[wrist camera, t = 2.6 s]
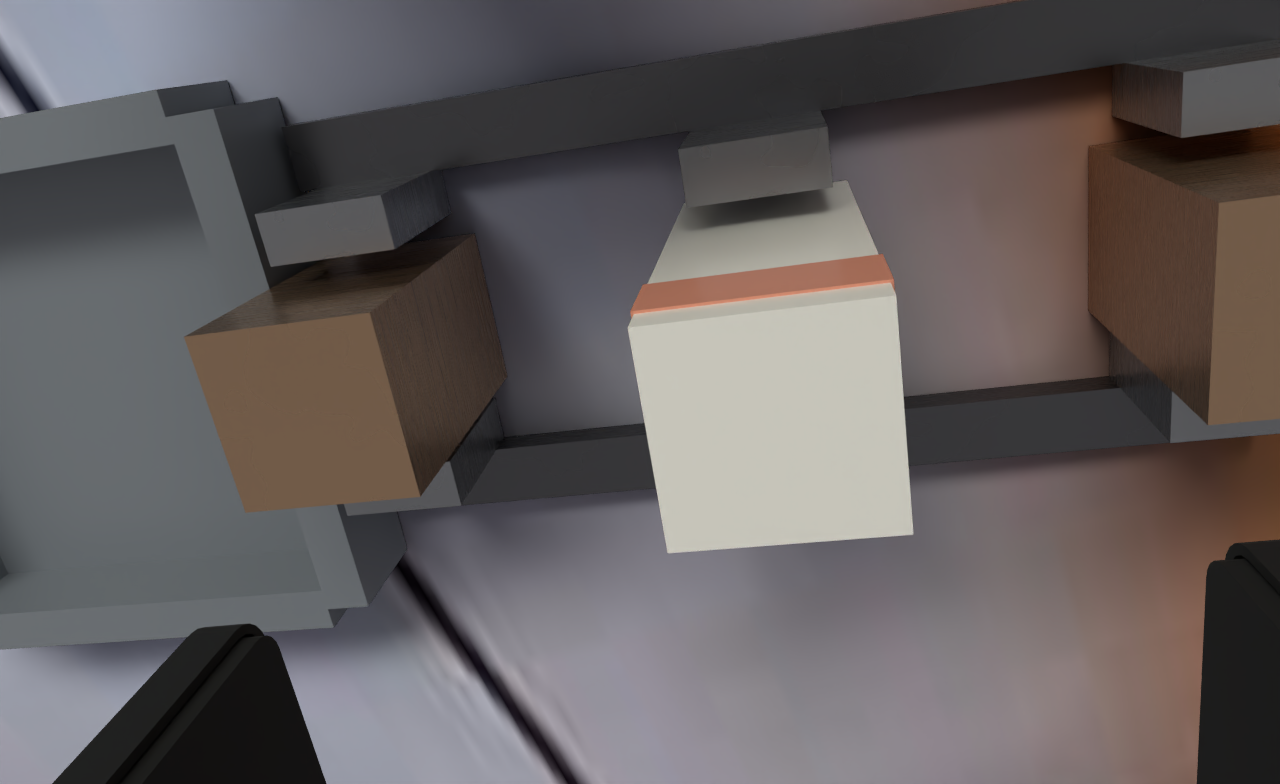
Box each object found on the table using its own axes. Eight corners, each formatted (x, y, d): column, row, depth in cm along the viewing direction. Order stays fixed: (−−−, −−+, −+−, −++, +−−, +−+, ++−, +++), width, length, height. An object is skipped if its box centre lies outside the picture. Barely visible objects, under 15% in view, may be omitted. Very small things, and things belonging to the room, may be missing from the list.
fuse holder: (1290, -46, 20) (1533, -71, 14) (1257, 420, 24) (1436, 572, 17) (296, 123, 24) (123, 165, 18) (402, 497, 28) (292, 644, 22)
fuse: (848, 177, 23) (899, 292, 14) (862, 337, 24) (916, 536, 15) (681, 201, 24) (624, 325, 15) (704, 355, 25) (665, 556, 16)
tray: (270, 72, 24) (204, 81, 21) (412, 565, 29) (374, 624, 26) (-201, 158, 26) (-315, 175, 24) (4, 597, 31) (-69, 653, 29)
